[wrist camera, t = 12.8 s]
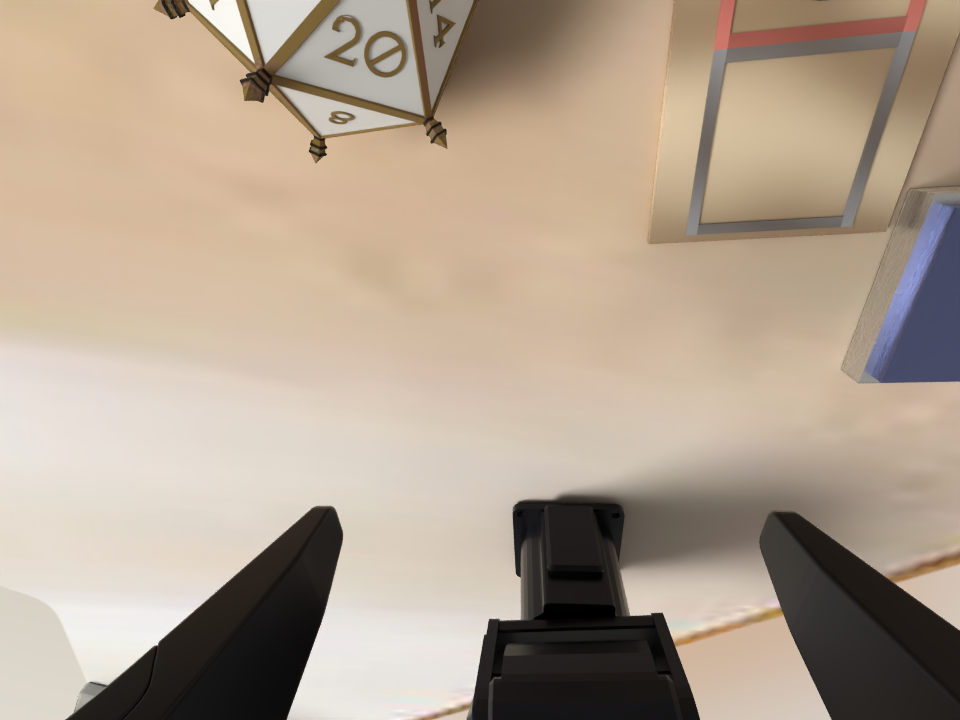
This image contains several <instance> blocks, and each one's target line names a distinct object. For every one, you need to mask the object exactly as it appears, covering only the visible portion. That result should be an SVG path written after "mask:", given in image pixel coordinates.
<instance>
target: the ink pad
mask: <svg viewBox="0 0 960 720" xmlns="http://www.w3.org/2000/svg"><path fill="white" fill-rule="evenodd" d="M841 370H842V371H843V372H844V373H846V374H847V375H848V376H849V377H851V378H852V379H853V380H854V381H856V382H857V383H908V382H960V186H953V187H936V188H920V189H909V191H908V194H907V196H906V199H905V202H904V204H903V207H902V210H901V212H900V215H899V218H898V220H897V223H896V226H895V228H894V231H893V233H892V236H891V239H890V241H889V244H888V247H887V249H886V252H885V255H884V257H883V260H882V263H881V265H880V268H879V271H878V273H877V276H876V278H875V281H874V284H873V286H872V289H871V292H870V294H869V297H868V300H867V302H866V305H865V308H864V310H863V313H862V315H861V318H860V321H859V323H858V326H857V329H856V331H855V334H854V337H853V339H852V342H851V345H850V347H849V350H848V353H847V355H846V358H845V360H844V363H843V366H842V368H841Z"/></svg>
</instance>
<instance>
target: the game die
mask: <svg viewBox="0 0 960 720" xmlns="http://www.w3.org/2000/svg"><path fill="white" fill-rule="evenodd" d="M477 3H478V0H159V1H158V2H157V4H156V5H155V7H154V8H153V9H155V10H157V11H159V12H161V13H163V14H165V15H167V16H169V17H170V19H174V18H176V17H177V16H179V18H181V17H183V16H185V13H186V12H191V13H192V14H193V15H194V16H195V17H196V18H197V19H198V20H199V21H200V22H201V23H202V24H203V25H204V26H205V27H206V28H207V29H208V30H209V31H210V32H211V33H212V34H213V35H214V36H215V37H216V38H217V39H218V40H219V41H220V42H221V43H222V44H223V45H224V46H225V47H226V48H227V49H228V50H229V51H230V52H231V53H232V54H233V55H234V56H235V57H236V58H237V59H238V60H239V61H240V62H241V63H242V64H243V65H244V66H245V67H246V68H247V69H248V70H249V71H250V72H251V73H248V74H246V77H247V78H245V79H241V80H240V82H241V84H242V86H243V93H244V101H259V102H262V103H263V102H264V97H265V95H266V96H268V93H269V91H270V92H271V93H272V94H273V95H274V96H275V97H276V98H277V99H278V100H279V101H280V102H281V103H282V104H283V105H284V106H285V107H286V108H287V109H288V110H289V111H290V112H291V113H292V114H293V115H294V116H295V117H296V118H297V119H298V120H299V121H300V122H301V123H302V124H303V125H304V126H305V127H306V128H307V129H308V130H309V131H310V132H311V133H312V134H313V135H314V139H313V140H312V141H311V143H310V145H311V147H310V150H309V152H310V153H311V154H312V157H313V159H314V161H315V163H317V162H318V161H319V160H320V159H321V158H322V157H323V156H326V155H327V154H326V153H325V149H327V146H326V145H325V138H330V137H337V136H344V135H351V134H358V133H365V132H372V131H379V130H386V129H393V128H400V127H407V126H414V125H421V124H423V125H424V126H425V127H426V130H427V133H426V135H427V136H429V137H430V139H431V141H430V142H431V143H436V144H438V145H440V146H442V147H444V148H447V142H446V134H447V132H446V129H443V128H442V126H441V122H437V121H436V120H435V119H434V118H433V117H434V114H435V112H436V109H437V107H438V104H439V101H440V99H441V96H442V94H443V91H444V88H445V86H446V83H447V81H448V78H449V75H450V73H451V70H452V68H453V65H454V62H455V60H456V57H457V55H458V52H459V49H460V47H461V44H462V42H463V39H464V36H465V34H466V31H467V29H468V26H469V23H470V21H471V18H472V16H473V13H474V10H475V8H476V5H477Z"/></svg>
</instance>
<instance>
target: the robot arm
mask: <svg viewBox="0 0 960 720" xmlns="http://www.w3.org/2000/svg"><path fill="white" fill-rule="evenodd" d="M520 511H522V512H520ZM615 512H617V513H615ZM623 523H624V511H623V508H622V507H621V506H620V505H618V504H550V503H519V504H516V505H515V506H514V507H513V529H514V548H515V566H516V575H517V576H519V577H521V620H505V621H500V619H489V622H488V628H487V635H484V639H483V645H482V651H481V657H480V663H479V669H478V675H477V681H476V687H475V693H474V697H473V700H472V703H471V707H470V710H469V713H468V716H467V720H700V718H699V714H698V710H697V707H696V704H695V701H694V698H693V694H692V691H691V688H690V685H689V683H688V680H687V677H686V675H685V672H684V669H683V667H682V664H681V661H680V658H679V656H678V653H677V650H676V648H675V645H674V642H673V639H672V637H671V634H670V631H669V629H668V626H667V623H666V621H665V618H664V615H663V613H651V615H643V616H630V613H629V608H628V604H627V599H626V595H625V590H624V586H623V581H622V577H621V572H620V568H619V555H620V547H621V539H622V531H623ZM342 541H343V531H342V527H341V524H340V521H339V518H338V515H337V512H336V510H335V508H334V507H332V506H316V507H314V508H312V509H311V510H310V511H308V512H307V513H306V514H305V515H304V516H303V517H302V518H300V519H299V520H298V521H297V522H296V523H295V524H294V525H292V526H291V527H290V528H289V529H288V530H287V531H286V532H284V533H283V534H282V535H281V536H280V537H279V538H278V539H276V540H275V541H274V542H273V543H272V544H271V545H269V546H268V547H267V548H266V549H265V550H264V551H263V552H261V553H260V554H259V555H258V556H257V557H256V558H255V559H253V560H252V561H251V562H250V563H249V564H248V565H247V566H245V567H244V568H243V569H242V570H241V571H240V572H239V573H237V574H236V575H235V576H234V577H233V578H232V579H230V580H229V581H228V582H227V583H226V584H225V585H224V586H222V587H221V588H220V589H219V590H218V591H217V592H216V593H214V594H213V595H212V596H211V597H210V598H209V599H208V600H206V601H205V602H204V603H203V604H202V605H201V606H200V607H198V608H197V609H196V610H195V611H194V612H193V613H191V614H190V615H189V616H188V617H187V618H186V619H185V620H183V621H182V622H181V623H180V624H179V625H178V626H177V627H175V628H174V629H173V630H172V631H171V632H170V633H169V634H167V635H166V636H165V637H164V638H163V639H162V640H160V641H159V643H158V646H157V645H156V646H153V647H152V648H151V649H150V650H149V651H148V652H147V653H145V654H144V655H143V656H142V657H141V658H140V659H138V660H137V661H136V662H135V663H134V664H133V665H132V666H130V667H129V668H128V669H127V670H126V671H124V672H123V673H122V674H121V675H120V676H119V677H117V678H116V679H115V680H114V681H113V682H111V683H110V684H109V685H108V686H107V687H106V688H104V689H103V690H102V691H101V692H99V693H98V694H97V695H96V696H94V697H93V698H92V699H91V700H89V701H88V702H87V703H86V704H84V705H83V706H82V707H81V708H79V709H78V710H77V711H76V712H74V713H73V714H72V715H71V716H70V717H68V718H67V719H66V720H287V717H288V714H289V711H290V708H291V706H292V703H293V700H294V697H295V694H296V692H297V689H298V686H299V683H300V681H301V678H302V675H303V672H304V669H305V667H306V664H307V661H308V658H309V655H310V653H311V650H312V647H313V644H314V642H315V639H316V636H317V633H318V630H319V628H320V625H321V622H322V619H323V616H324V613H325V609H326V606H327V602H328V598H329V594H330V590H331V586H332V582H333V578H334V574H335V570H336V566H337V562H338V558H339V554H340V550H341V546H342ZM759 543H760V549H761V552H762V555H763V558H764V561H765V564H766V566H767V569H768V572H769V575H770V578H771V580H772V583H773V586H774V589H775V592H776V594H777V597H778V600H779V603H780V606H781V608H782V611H783V614H784V617H785V619H786V622H787V624H788V627H789V629H790V632H791V634H792V636H793V639H794V641H795V643H796V645H797V647H798V649H799V652H800V654H801V656H802V658H803V660H804V662H805V664H806V666H807V668H808V671H809V672H810V675H811V677H812V679H813V681H814V683H815V685H816V687H817V690H818V692H819V694H820V696H821V698H822V700H823V702H824V704H825V706H826V709H827V711H828V713H829V715H830V717H831V719H832V720H960V630H958V629H957V628H955V627H954V626H953V625H951V624H950V623H949V622H947V621H945V620H944V619H943V618H941V617H940V616H939V615H937V614H936V613H934V612H933V611H932V610H931V609H929V608H928V607H926V606H925V605H923V604H922V603H921V602H919V601H918V600H917V599H915V598H914V597H913V596H911V595H910V594H908V593H907V592H905V591H904V590H903V589H901V588H900V587H899V586H897V585H896V584H895V583H893V582H892V581H890V580H889V579H888V578H886V577H885V576H883V575H882V574H881V573H879V572H878V571H877V570H875V569H874V568H872V567H871V566H870V565H868V564H867V563H865V562H864V561H863V560H861V559H860V558H859V557H857V556H856V555H854V554H853V553H852V552H850V551H849V550H847V549H846V548H845V547H843V546H842V545H840V544H839V543H838V542H836V541H835V540H834V539H832V538H831V537H829V536H828V535H827V534H825V533H824V532H822V531H821V530H820V529H818V528H817V527H816V526H814V525H813V524H811V523H810V522H809V521H807V520H806V519H804V518H803V517H802V516H800V515H799V514H797V513H795V512H793V511H771V512H770V513H769V514H768V516H767V519H766V521H765V524H764V527H763V530H762V533H761V536H760V541H759Z"/></svg>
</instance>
